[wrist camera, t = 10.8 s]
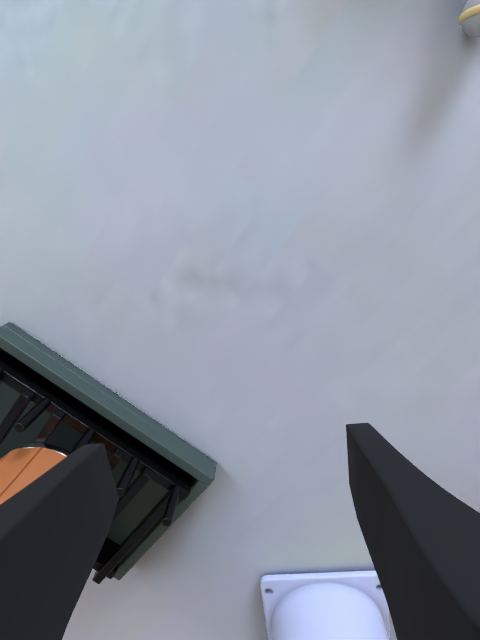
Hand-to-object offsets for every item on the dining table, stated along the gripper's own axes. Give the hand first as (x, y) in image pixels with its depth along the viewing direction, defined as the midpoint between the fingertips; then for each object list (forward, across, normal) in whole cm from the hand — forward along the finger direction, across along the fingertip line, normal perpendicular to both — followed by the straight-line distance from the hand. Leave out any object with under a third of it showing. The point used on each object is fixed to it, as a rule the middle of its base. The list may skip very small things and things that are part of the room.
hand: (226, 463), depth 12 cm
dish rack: (+10, +11, +6) cm, 16 cm away
